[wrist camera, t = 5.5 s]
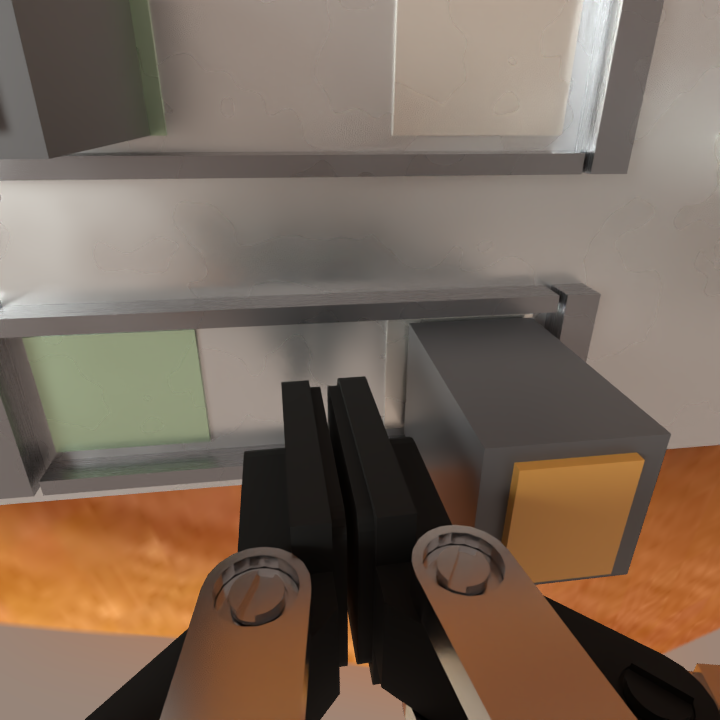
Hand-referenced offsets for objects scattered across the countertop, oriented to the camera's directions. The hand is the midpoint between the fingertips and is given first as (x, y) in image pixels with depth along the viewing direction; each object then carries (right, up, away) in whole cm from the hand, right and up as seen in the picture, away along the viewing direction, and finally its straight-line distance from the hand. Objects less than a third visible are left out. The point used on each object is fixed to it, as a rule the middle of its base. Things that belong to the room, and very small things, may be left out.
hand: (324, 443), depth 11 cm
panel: (+1, +5, +2) cm, 6 cm away
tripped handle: (+3, +1, +3) cm, 4 cm away
